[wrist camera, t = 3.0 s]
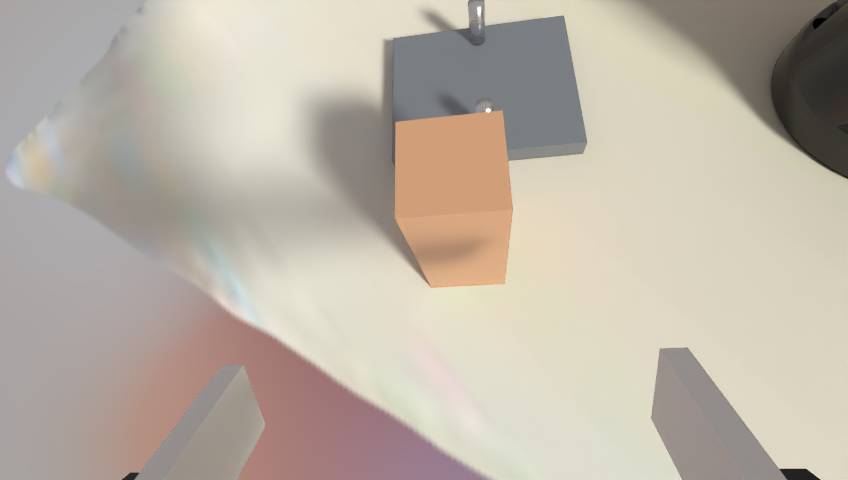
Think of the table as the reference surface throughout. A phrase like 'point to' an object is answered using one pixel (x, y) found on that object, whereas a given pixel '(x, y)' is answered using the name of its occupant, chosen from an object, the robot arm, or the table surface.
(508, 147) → the pin tray
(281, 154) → the table surface
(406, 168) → the case
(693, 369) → the robot arm
